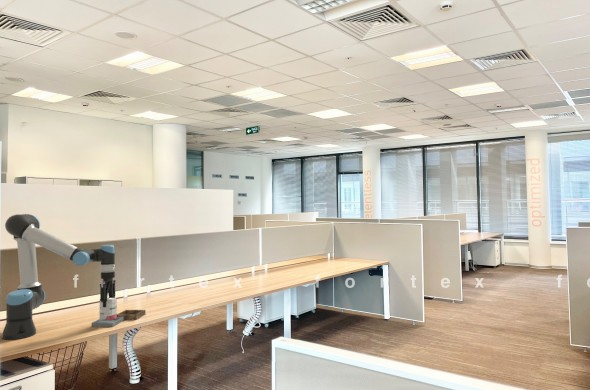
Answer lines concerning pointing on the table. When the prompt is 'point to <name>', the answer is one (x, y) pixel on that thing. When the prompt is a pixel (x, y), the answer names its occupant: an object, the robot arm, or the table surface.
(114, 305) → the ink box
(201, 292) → the table surface
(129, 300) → the table surface
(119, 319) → the tray
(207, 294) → the table surface
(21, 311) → the robot arm
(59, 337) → the table surface
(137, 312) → the brown wooden box
